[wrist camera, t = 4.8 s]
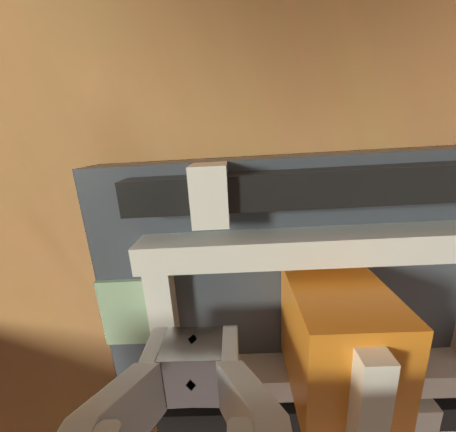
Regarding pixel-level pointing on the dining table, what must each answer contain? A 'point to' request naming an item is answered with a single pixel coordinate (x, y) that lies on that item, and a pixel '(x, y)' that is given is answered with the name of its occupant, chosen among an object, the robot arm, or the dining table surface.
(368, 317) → the toggle
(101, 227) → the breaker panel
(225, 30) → the dining table surface
